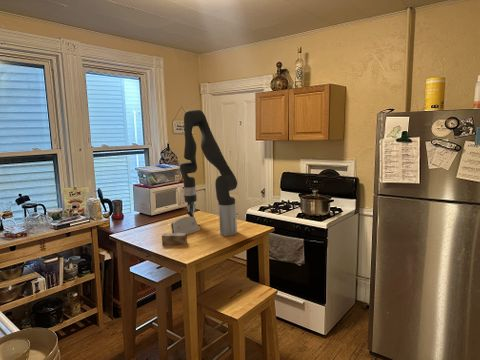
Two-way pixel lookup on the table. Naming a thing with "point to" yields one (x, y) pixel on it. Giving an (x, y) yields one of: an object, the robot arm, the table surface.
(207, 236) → the table surface
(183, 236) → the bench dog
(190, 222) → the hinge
